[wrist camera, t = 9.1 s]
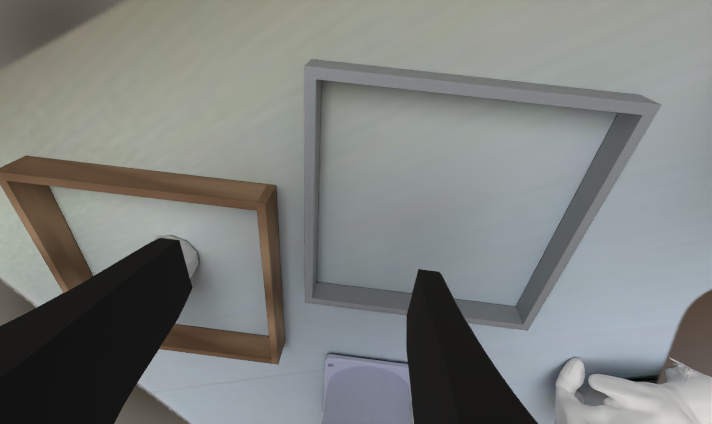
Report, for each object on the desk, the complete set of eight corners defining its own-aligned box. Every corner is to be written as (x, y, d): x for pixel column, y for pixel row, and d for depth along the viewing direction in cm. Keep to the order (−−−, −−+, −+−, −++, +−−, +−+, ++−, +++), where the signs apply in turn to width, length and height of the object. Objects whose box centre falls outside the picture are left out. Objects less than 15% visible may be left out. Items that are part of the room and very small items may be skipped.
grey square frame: (520, 312, 24) (527, 330, 22) (309, 286, 24) (304, 302, 23) (639, 94, 15) (661, 104, 14) (311, 59, 16) (304, 65, 14)
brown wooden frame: (284, 342, 28) (278, 364, 26) (108, 319, 28) (91, 340, 27) (276, 185, 20) (265, 204, 18) (25, 155, 20) (-8, 171, 18)
